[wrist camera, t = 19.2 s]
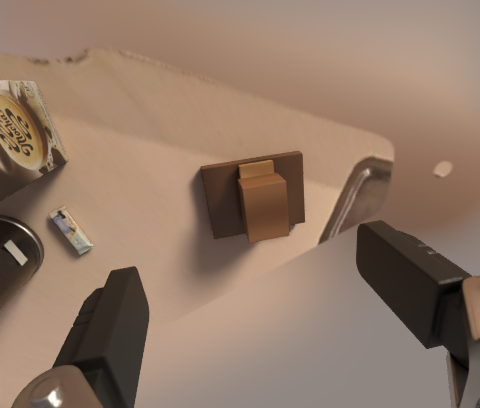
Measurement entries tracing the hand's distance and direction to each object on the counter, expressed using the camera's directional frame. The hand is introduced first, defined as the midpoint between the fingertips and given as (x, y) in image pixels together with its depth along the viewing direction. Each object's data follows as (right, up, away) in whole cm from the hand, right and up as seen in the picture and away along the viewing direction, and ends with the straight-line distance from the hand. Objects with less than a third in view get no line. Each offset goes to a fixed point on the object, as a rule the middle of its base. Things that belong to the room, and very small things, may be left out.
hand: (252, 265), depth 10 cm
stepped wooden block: (+2, +3, +28) cm, 28 cm away
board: (+1, +4, +30) cm, 30 cm away
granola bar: (-22, -1, +27) cm, 35 cm away
